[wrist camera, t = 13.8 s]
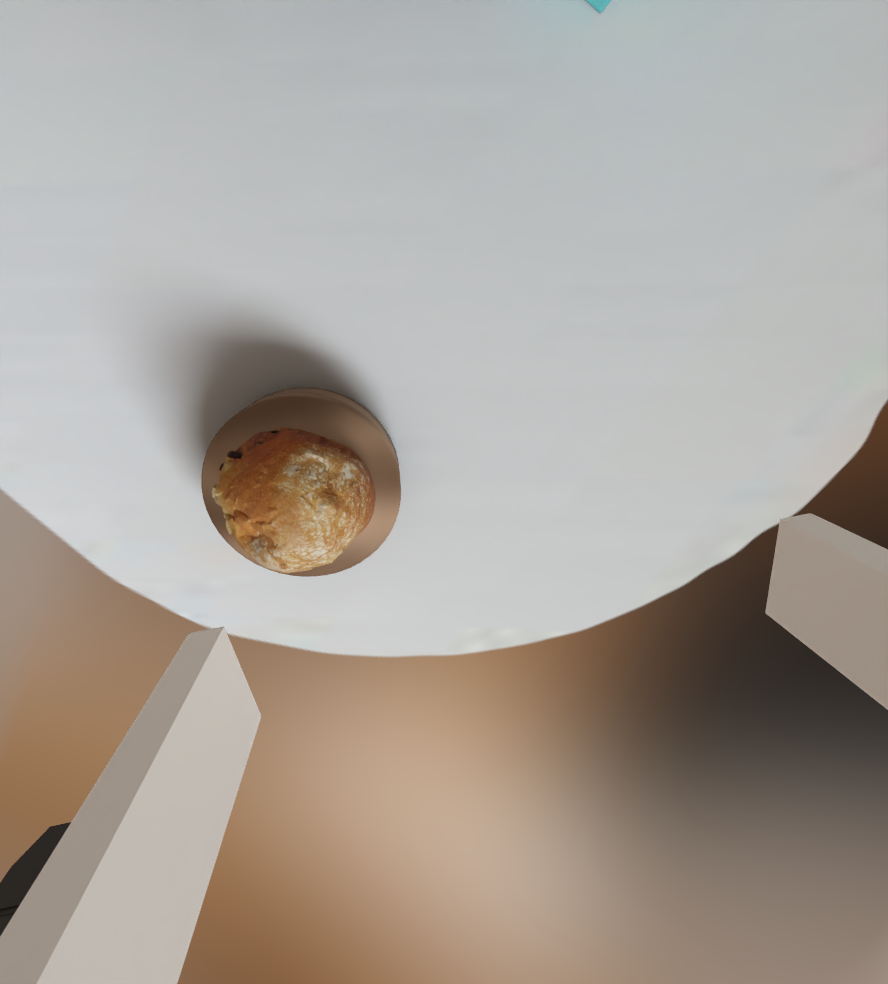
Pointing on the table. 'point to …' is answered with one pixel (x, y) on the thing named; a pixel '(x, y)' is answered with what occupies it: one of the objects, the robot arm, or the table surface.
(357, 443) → the walnut stand
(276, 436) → the bread roll
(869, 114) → the table surface
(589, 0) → the game box
